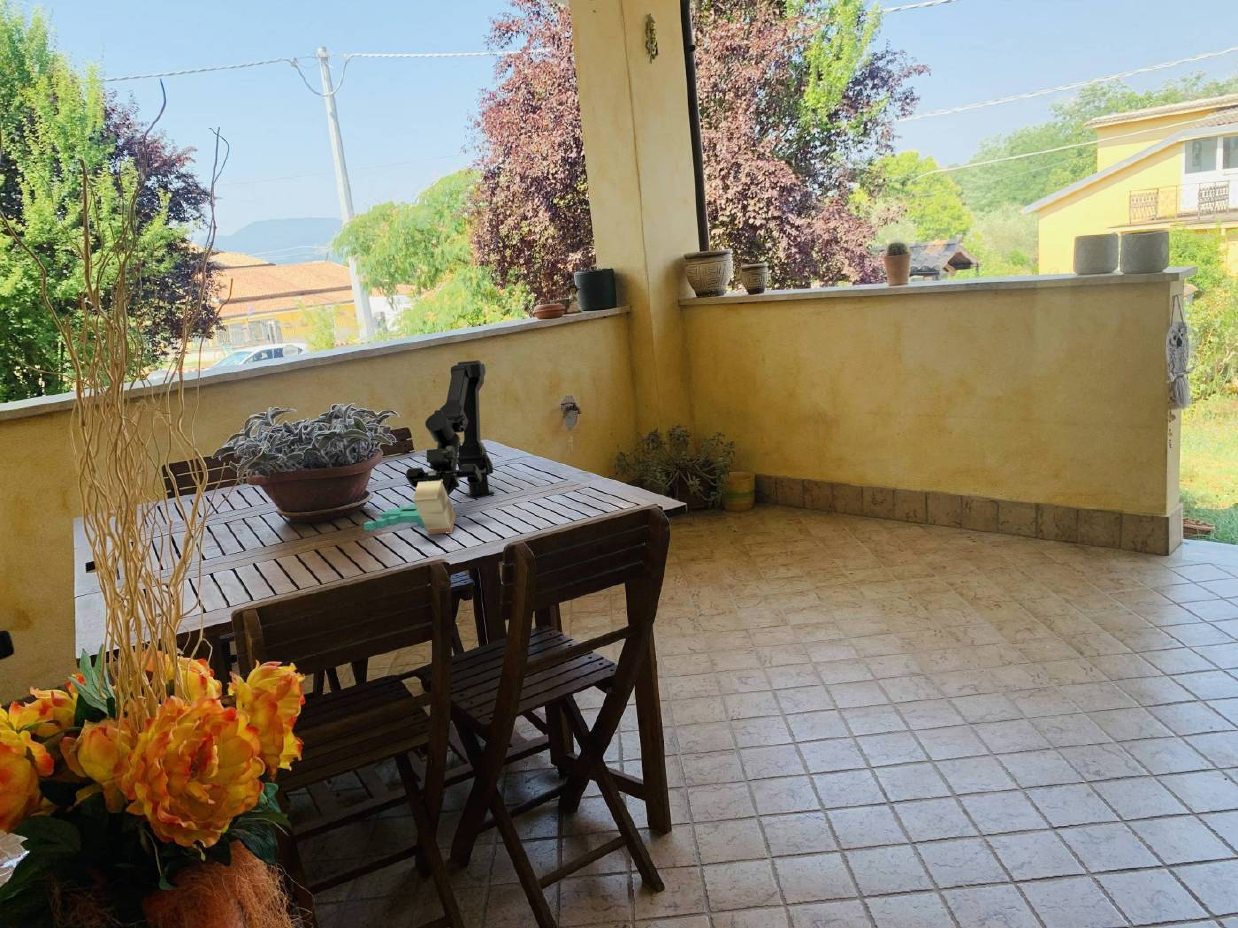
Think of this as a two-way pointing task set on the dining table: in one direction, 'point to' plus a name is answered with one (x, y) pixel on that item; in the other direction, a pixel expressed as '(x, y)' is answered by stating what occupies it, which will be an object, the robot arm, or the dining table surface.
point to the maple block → (434, 507)
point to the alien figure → (396, 517)
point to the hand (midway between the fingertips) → (439, 504)
